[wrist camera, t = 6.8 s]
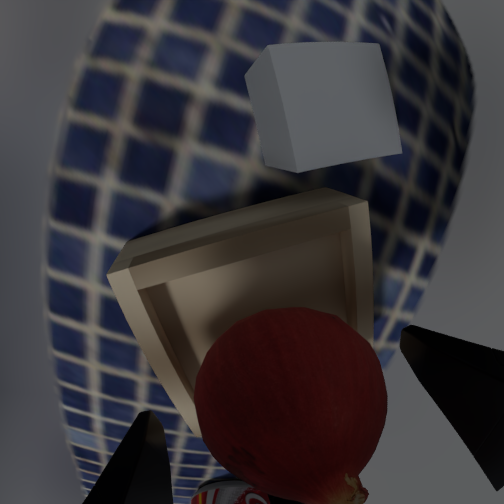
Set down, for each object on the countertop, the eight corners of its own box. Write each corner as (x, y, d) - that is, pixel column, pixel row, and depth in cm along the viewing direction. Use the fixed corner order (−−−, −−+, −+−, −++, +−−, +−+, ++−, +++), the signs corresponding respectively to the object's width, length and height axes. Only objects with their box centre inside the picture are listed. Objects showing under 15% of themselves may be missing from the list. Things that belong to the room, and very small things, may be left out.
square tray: (342, 342, 16) (370, 379, 13) (192, 388, 15) (196, 436, 12) (325, 187, 13) (367, 201, 10) (126, 241, 12) (106, 275, 9)
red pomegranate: (264, 398, 13) (318, 543, 6) (161, 346, 11) (162, 545, 4) (352, 314, 12) (467, 447, 5) (259, 235, 10) (400, 425, 3)
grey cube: (347, 149, 12) (402, 153, 9) (265, 165, 12) (297, 172, 8) (329, 67, 11) (379, 43, 7) (243, 76, 11) (268, 45, 7)
